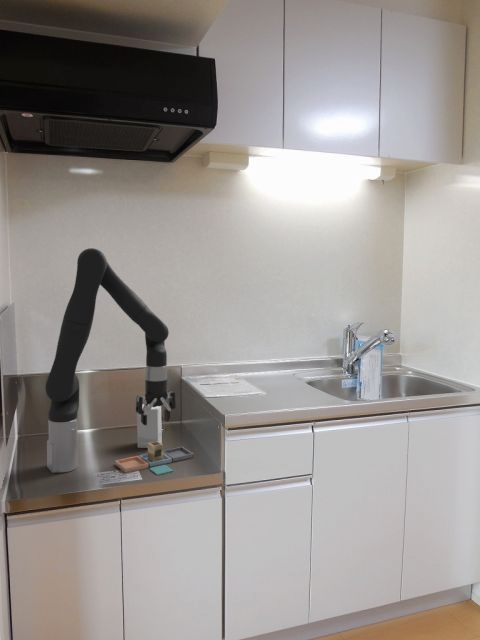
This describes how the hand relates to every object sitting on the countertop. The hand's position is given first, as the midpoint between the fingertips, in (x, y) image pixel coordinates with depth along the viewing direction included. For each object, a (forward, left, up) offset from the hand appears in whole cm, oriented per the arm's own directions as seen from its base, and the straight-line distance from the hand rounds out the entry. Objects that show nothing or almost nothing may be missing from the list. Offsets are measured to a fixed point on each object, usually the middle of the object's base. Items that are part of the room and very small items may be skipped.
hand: (155, 422), depth 184 cm
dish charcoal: (+9, 0, -14) cm, 17 cm away
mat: (-2, -8, -14) cm, 16 cm away
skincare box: (+5, +15, -14) cm, 21 cm away
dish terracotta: (-9, 0, -14) cm, 17 cm away
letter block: (0, 0, -14) cm, 14 cm away
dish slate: (0, 0, -14) cm, 14 cm away
